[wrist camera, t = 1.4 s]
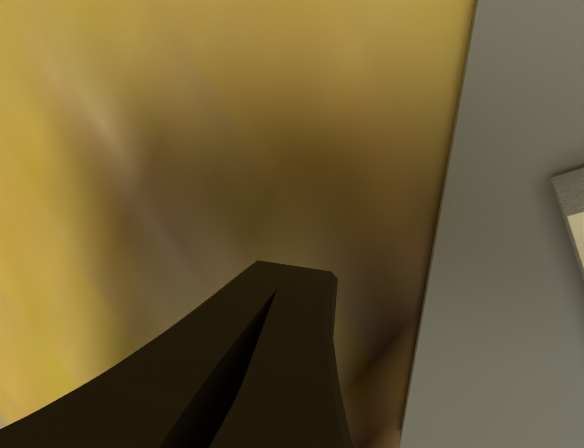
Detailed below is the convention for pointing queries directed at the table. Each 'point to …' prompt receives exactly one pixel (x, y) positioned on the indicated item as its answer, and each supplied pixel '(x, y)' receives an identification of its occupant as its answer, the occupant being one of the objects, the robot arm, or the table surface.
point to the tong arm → (572, 209)
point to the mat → (506, 244)
